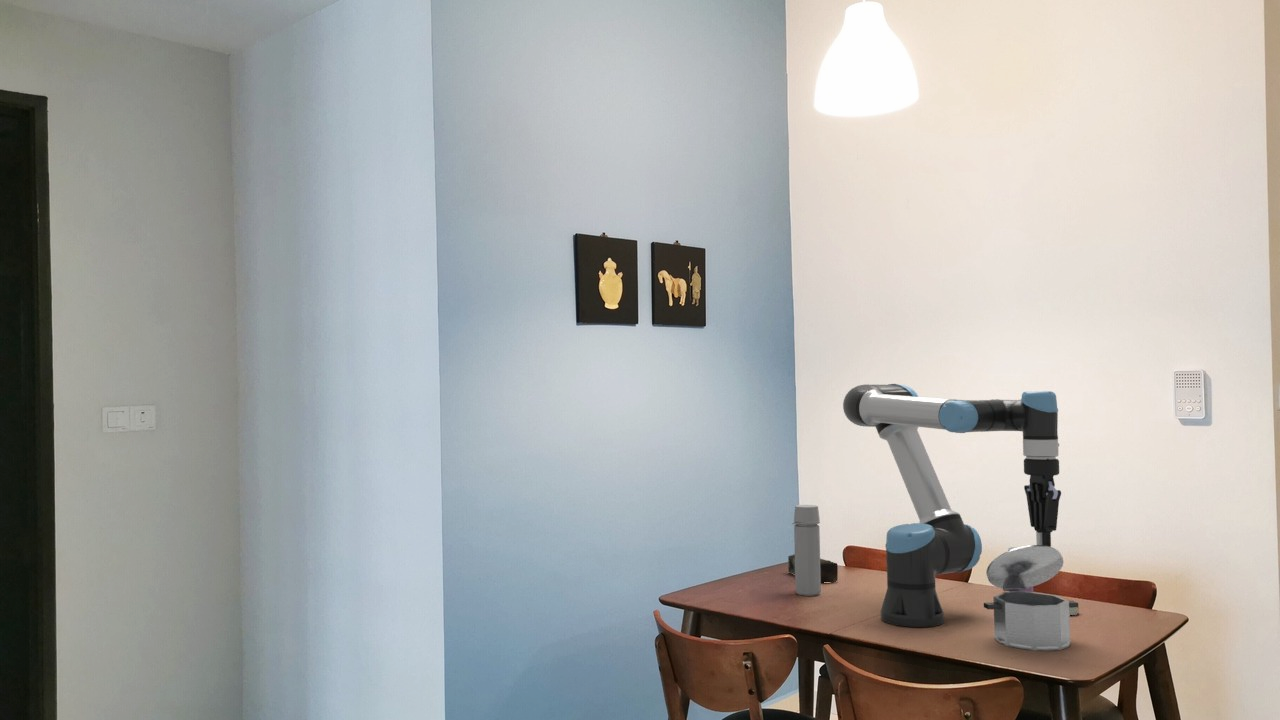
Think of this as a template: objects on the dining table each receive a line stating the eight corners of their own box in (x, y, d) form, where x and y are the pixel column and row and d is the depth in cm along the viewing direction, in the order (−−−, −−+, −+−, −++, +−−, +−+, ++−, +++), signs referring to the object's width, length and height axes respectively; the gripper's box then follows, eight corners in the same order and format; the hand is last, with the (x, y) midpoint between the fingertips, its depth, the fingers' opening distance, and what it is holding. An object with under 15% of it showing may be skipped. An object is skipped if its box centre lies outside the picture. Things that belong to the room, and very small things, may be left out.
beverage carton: (810, 572, 293) (809, 551, 293) (839, 583, 275) (838, 561, 275) (787, 574, 291) (787, 553, 291) (815, 585, 272) (815, 563, 273)
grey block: (1060, 608, 239) (1060, 593, 239) (1084, 616, 230) (1084, 600, 230) (1033, 610, 237) (1032, 594, 237) (1056, 618, 228) (1055, 602, 229)
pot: (1002, 652, 198) (1000, 607, 198) (971, 633, 214) (970, 592, 214) (1095, 649, 199) (1093, 605, 199) (1058, 631, 215) (1056, 590, 215)
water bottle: (827, 595, 257) (825, 506, 259) (803, 597, 254) (801, 508, 256) (809, 589, 266) (807, 503, 267) (786, 591, 263) (784, 504, 264)
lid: (1000, 550, 202) (995, 538, 205) (978, 592, 214) (974, 580, 217) (1075, 549, 203) (1069, 536, 205) (1049, 590, 215) (1044, 578, 217)
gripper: (1071, 459, 204) (1074, 565, 203) (1043, 455, 217) (1046, 554, 216) (1038, 459, 203) (1042, 565, 203) (1012, 456, 216) (1015, 555, 216)
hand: (1044, 560), depth 209 cm, fingers closed
